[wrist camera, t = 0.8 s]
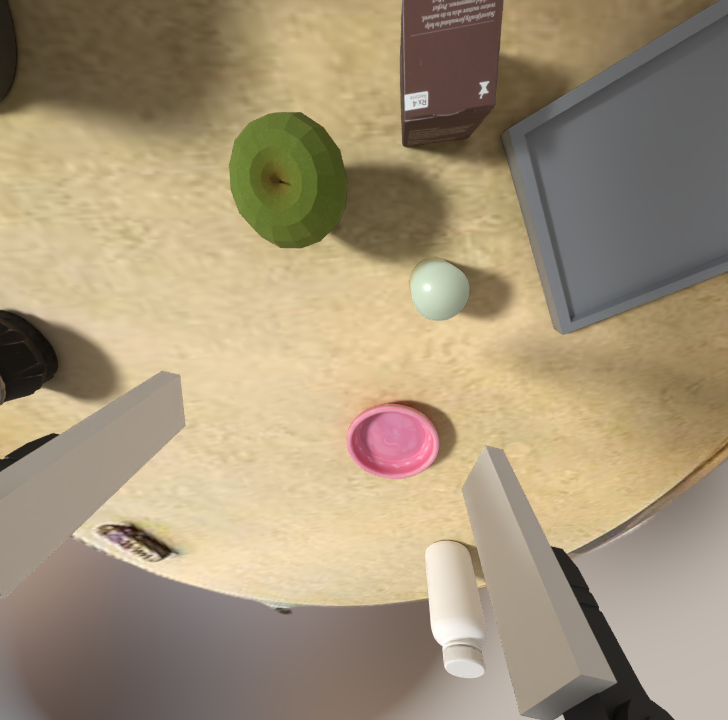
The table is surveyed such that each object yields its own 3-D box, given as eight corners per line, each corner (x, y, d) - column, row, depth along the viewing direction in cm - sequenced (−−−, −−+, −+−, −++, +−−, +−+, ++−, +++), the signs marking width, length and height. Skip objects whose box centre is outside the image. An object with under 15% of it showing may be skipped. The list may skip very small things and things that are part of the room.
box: (475, 46, 22) (510, -30, 16) (469, 139, 25) (497, 108, 18) (398, 58, 23) (401, -9, 16) (400, 148, 25) (403, 121, 19)
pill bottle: (427, 536, 49) (440, 653, 36) (473, 541, 49) (504, 662, 35) (421, 562, 53) (430, 677, 39) (464, 567, 52) (489, 686, 39)
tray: (500, 135, 24) (508, 128, 23) (801, -48, 19) (839, -73, 17) (554, 329, 31) (562, 334, 30) (786, 238, 26) (812, 239, 24)
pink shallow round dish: (335, 440, 42) (330, 455, 39) (376, 379, 36) (375, 392, 34) (405, 474, 43) (405, 491, 41) (454, 421, 38) (459, 437, 35)
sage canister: (401, 271, 30) (403, 281, 25) (445, 248, 29) (457, 253, 23) (420, 311, 32) (425, 329, 26) (462, 291, 30) (477, 305, 25)
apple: (314, 260, 30) (273, 277, 20) (257, 191, 28) (177, 171, 18) (376, 201, 27) (365, 186, 17) (318, 119, 25) (265, 44, 15)
